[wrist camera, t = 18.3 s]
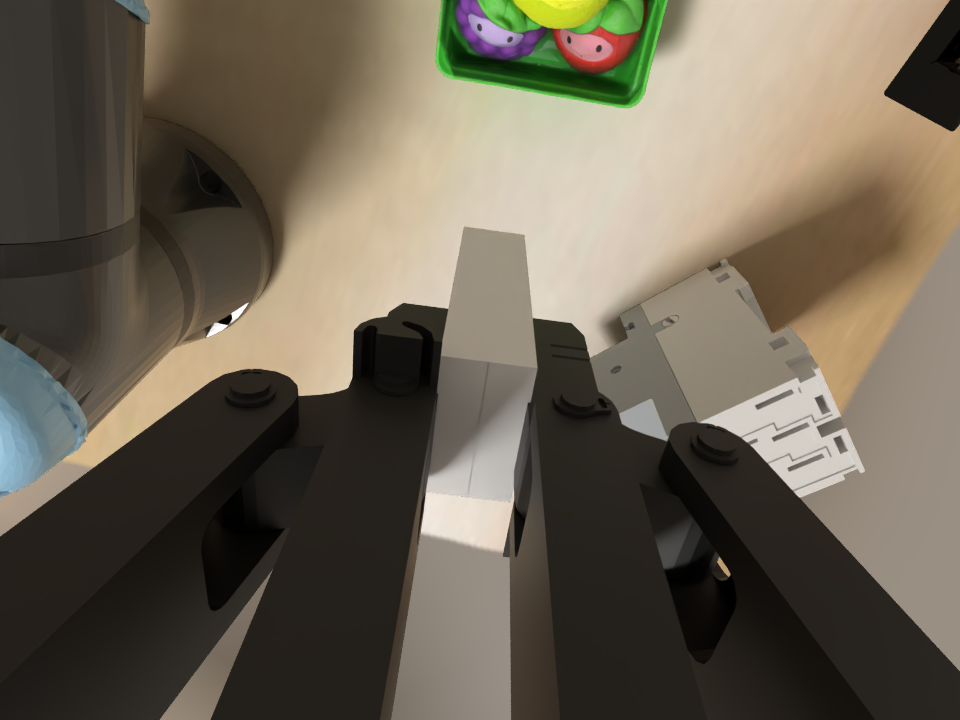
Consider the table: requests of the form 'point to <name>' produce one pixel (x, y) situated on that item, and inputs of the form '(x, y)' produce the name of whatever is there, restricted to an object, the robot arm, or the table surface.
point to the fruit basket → (553, 46)
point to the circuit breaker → (727, 378)
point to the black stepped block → (933, 72)
